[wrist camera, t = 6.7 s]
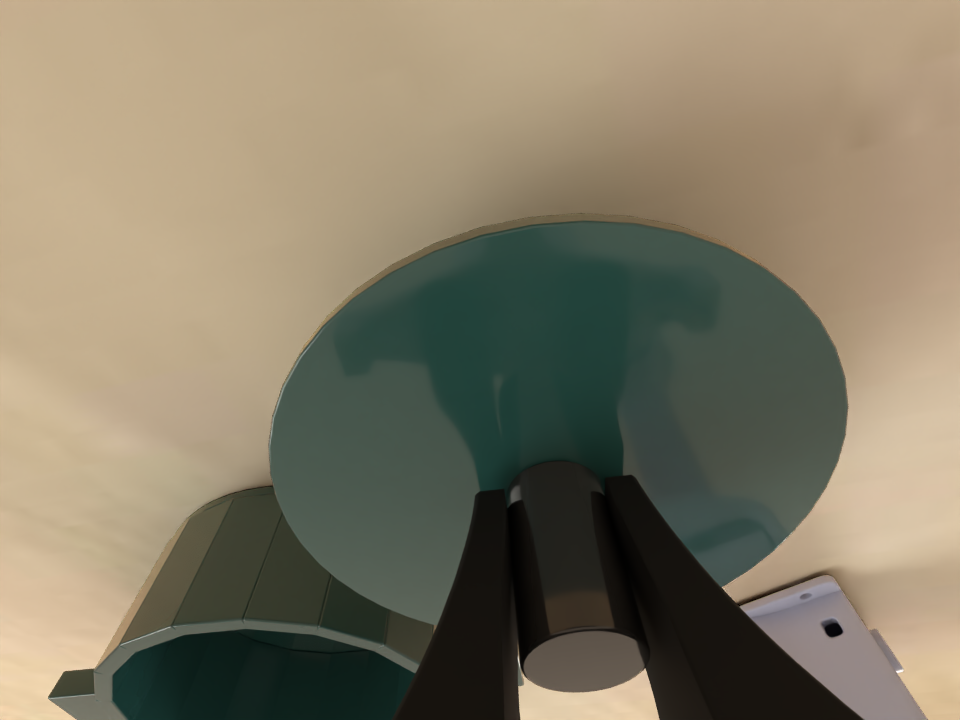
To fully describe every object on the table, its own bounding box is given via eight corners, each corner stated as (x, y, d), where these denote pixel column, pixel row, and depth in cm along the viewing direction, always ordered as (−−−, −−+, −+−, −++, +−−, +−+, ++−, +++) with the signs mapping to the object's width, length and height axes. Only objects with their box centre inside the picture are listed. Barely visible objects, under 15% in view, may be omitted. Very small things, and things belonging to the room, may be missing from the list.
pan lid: (180, 254, 10) (-32, 427, 6) (901, 152, 9) (1277, 263, 5) (364, 622, 18) (331, 811, 13) (764, 583, 17) (865, 771, 13)
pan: (48, 511, 20) (-72, 649, 16) (495, 460, 19) (504, 593, 15) (192, 664, 27) (138, 790, 23) (524, 633, 26) (536, 758, 22)
